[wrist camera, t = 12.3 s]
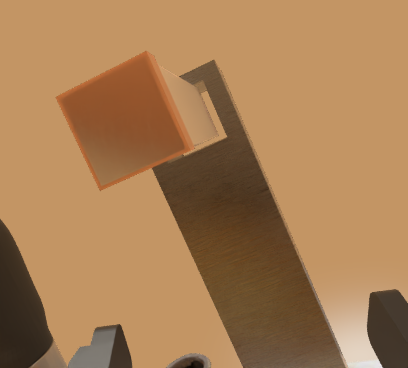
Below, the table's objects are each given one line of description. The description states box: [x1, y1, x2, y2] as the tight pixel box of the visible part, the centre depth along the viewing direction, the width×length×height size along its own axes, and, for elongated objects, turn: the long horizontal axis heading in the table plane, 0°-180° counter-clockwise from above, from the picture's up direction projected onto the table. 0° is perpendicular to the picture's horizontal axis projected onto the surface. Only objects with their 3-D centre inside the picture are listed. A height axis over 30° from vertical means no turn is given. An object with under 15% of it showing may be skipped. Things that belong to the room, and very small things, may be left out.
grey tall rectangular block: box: [152, 60, 348, 368], centre depth 35 cm, size 8×7×35 cm
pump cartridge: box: [56, 51, 218, 191], centre depth 23 cm, size 4×15×4 cm, turn 172°
